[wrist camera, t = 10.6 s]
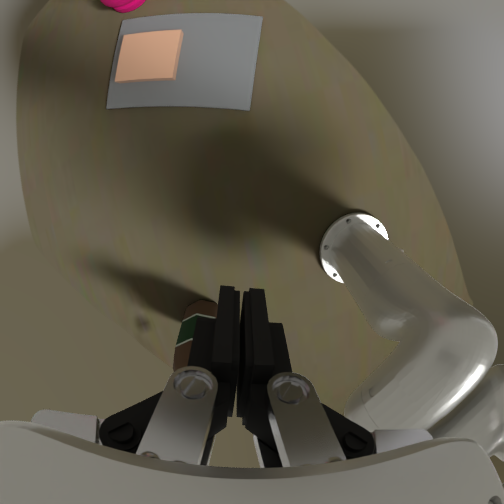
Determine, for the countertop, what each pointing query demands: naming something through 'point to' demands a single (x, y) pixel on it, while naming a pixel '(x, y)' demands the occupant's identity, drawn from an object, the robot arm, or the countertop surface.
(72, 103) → the countertop surface
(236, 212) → the countertop surface
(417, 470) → the robot arm
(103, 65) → the countertop surface
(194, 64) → the mat
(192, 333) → the beer bottle
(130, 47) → the tile
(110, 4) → the pepper mill
